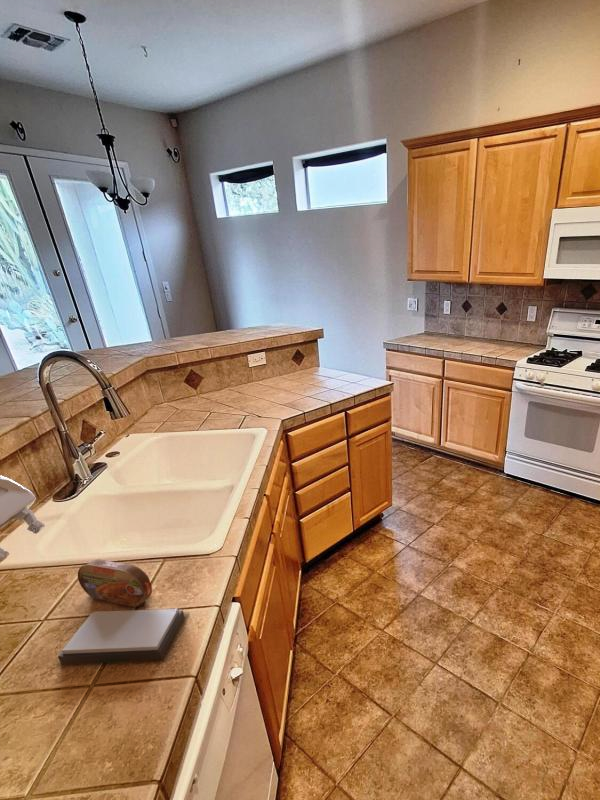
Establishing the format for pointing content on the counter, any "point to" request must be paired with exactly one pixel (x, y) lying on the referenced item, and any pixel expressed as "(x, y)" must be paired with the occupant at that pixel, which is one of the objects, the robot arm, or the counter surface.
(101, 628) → the scale
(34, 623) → the counter surface
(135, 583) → the tin
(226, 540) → the counter surface
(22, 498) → the robot arm
